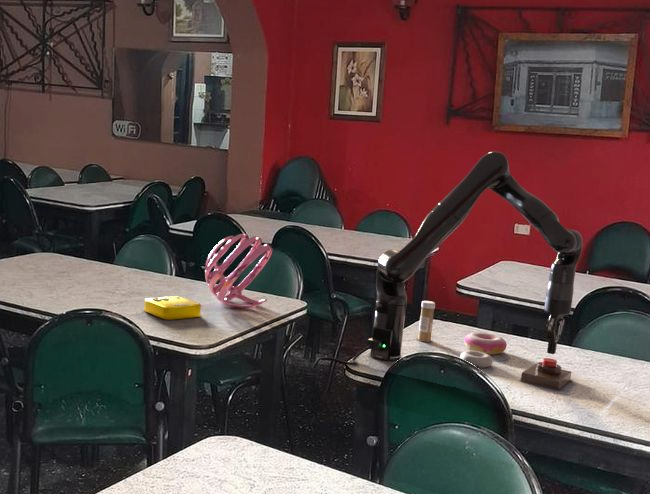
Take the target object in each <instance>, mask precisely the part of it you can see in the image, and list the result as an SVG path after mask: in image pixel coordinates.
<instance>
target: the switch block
mask: <svg viewBox="0 0 650 494" xmlns="http://www.w3.org/2000/svg"><path fill="white" fill-rule="evenodd" d="M542 364H543V361H539V362H537V363H534V364H533V365H531V366H530V367H528V368H526V369H525V370H524V371H522V372H521V376H520V382H523V383H527V384H531V385H535V386H539V387H542V388H543V387H544V388H546V389H547V388H548V389H552V390H555V391H559V390H560V389H561V388H562V387H564V386H566V384H568V383H569V381H571V379H572V371H570V370H566V369H563V367H562V366H561V365H560V364H557V365H556V368H551V367H546V366H543V365H542Z"/></svg>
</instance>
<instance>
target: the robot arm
mask: <svg viewBox="0 0 650 494" xmlns="http://www.w3.org/2000/svg"><path fill="white" fill-rule="evenodd" d="M509 165H510V164H509V160H508V158H507V156H506V155H505V154H504V153H502V152H500V151H490V152H488V153H485V154H484V155H483V156H481V157H480V158H479V160H478V161H477V162H476V163H475V164H474V166H473V167H472V168H471V169H470V171H468V173H467V175H465V177H464V178H463V179H462V180H461V181H460V182H459V183H458V184H457V185H456V186H455V187H454V188H453V189H452V190H450V192H449V193H448V194H447V195H446V196H444V197H443V199H442V200H440V201H439V202H438V203H437V204H436V205H435V206H434V207H433V208H432V209H431V211H429V212H428V213H427V214H426V216H425V218H424V219H423V220H422V223H421V225H420V226H419V228H418V230H417V232H416V234H415V235H414V237H413V238H412V239H411V240H410V241H409V242H408V243H407V244H406V245H405V246H404V247H403V248H401V249H400V250H397V249H389V250H388V249H387V250H386V251H384V252H383V253H382V254H381V256H380V257H379V259H378V261H377V262H378V263H377V269H376V279H375V293H376V302H375V310H374V321H373V329H372V337H370V338H367V340H366V347H364V348H363V349H362V350H360V351H359V352H358V353H356V355H354V356H353V358H352V359H351V361H345V360H341V359H339V358H336V357H330V356H329V357H328V356H318V357H317V359H316V360H315V362H314V364H313V365H312V369H315V368H316V367H317V365H318V364H319V362H320V361H333V362H336V363H340V364H342V365H346V366H355V365H356V364H357V363H356V359H357V358H359V357H360V356H361V355H363V354H364V353H366V351H368V350H370V354H369V355H370V357H371V358H375V359H379V360H383V361H387V362H388V361H396V360H400V359H401V357H402V347H403V346H402V345H403V338H404V337H403V336H404V328H405V319H406V311H407V302H408V295H407V292H406V287H405V284H406V281H408V280H410V279H411V277H413V275H414V274H415V273H416V272H417V270H418V269H419V268H420V266H421V265H422V264H424V262H425V261H426V259H427V258H428V257H429V256H430V254H432V253H433V252H434V251H435V250H436V249H437V248H438V247H439V246H440V245H441V244H442V243H443V242H444V241H445V240H446V239H447V238H448V237H449V236H450V235H451V234H452V233H454V231H455V230H457V228H459V226H461V225H462V223H463V222H464V221H465V219H466V218H467V217H468V216H469V214H470V212H471V210H472V209H473V207H474V205H475V204H476V202H477V200H478V199H479V198H480V196H481V195H482V194H483V193H484V192H485V191H486V190H487V189H490V191H492V192H494V193H495V194H497V195H498V196H500V197H501V198H503V200H505V201H506V202H507V203H509V204H510V205H511V206H512V207H513V208H514V209H515V210H516V211H517V212H518V213H520V215H521V216H522V217H524V219H525V220H526V221H528V223H529V224H530V225H531V226H532V227H533V228H535V229H536V230H537V231H538V232H539V233H540V234H541V236H542V238H543V239H544V241H545V242H546V243H547V245H548V246H549V247H550V249H552V250H553V251H554V252H556V253H557V254H556V259H555V260H554V261H553V262H552V263H551V266H550V269H549V270H550V271H549V278H548V283H547V287H546V292H545V301H544V306H543V310H544V311H545V312H546V313H549V314H550V315H549V317H548V318H547V320H546V321H547V322H546V324H545V326H544V328H545V329H544V330H545V338H546V341H548V343H547V350H546V353H547V354H550V355H554V354H556V352H557V347H558V342H559V340H560V338H561V337H562V332H563V330H564V326H565V324H566V321H565V319H564V316H568V315H570V314H571V310H572V305H573V298H574V292H575V291H574V289H575V288H574V285H575V278H576V269H577V266H578V264H579V260H580V258H581V254H582V251H583V247H584V246H583V245H584V244H583V243H584V242H583V240H584V239H583V236H582V234H581V233H580V232H579V231H578V230H576V229H567V228H566V227H565V226H563V225H562V224H561V223H560V219H559V216H558V215H557V214H556V212H554V210H552V209H551V208H550V207H549V206H548V205H547V204H546V203H545V202H544V201H543V200H542V199H540V198H538V197H537V196H536V195H534V194H533V193H531V192H529V191H528V190H526V189H525V188H523V187H522V186H521V185H520V184H519V182H517V180H516V179H515V178H514V176H513V175H512V174H511V172H510V166H509ZM399 358H400V359H399Z"/></svg>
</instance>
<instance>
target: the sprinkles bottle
mask: <svg viewBox="0 0 650 494" xmlns="http://www.w3.org/2000/svg"><path fill="white" fill-rule="evenodd" d="M420 307H421V310H420V317H419V326H418V337H417V340H418V341H420V342H427V343H429V342H432V331H433V323H434V312H435V308H436V303H435V301H431V300H422V301H421V305H420Z"/></svg>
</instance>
